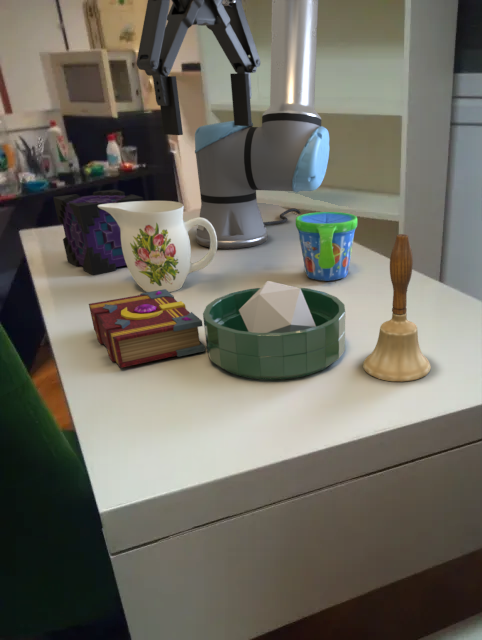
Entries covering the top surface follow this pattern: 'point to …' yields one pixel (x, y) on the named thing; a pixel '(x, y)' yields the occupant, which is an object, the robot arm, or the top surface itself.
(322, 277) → the snack cup
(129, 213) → the pitcher
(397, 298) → the hand bell
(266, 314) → the die
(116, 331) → the decorative book
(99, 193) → the energy cube
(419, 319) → the top surface
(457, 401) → the top surface
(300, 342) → the bowl
